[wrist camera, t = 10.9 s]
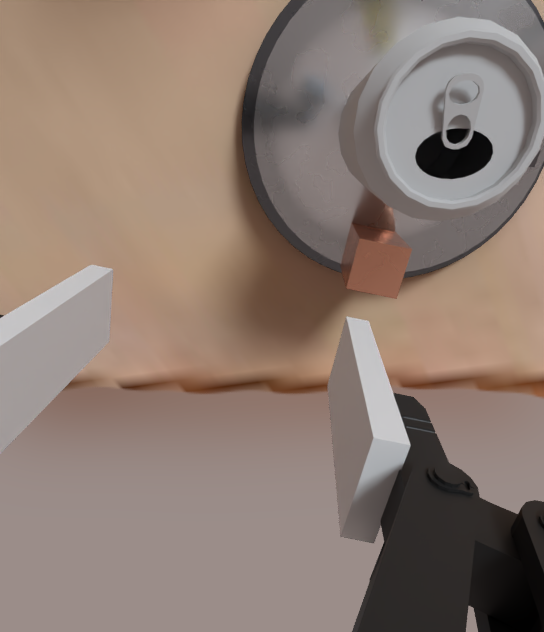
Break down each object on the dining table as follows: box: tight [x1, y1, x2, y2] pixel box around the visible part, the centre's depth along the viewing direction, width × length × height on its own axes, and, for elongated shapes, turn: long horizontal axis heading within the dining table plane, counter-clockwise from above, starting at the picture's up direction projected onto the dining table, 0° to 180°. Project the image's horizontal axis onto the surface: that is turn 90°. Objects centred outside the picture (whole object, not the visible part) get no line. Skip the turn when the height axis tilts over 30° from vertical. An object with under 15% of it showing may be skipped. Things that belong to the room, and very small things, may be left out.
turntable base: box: [242, 0, 544, 278], centre depth 30 cm, size 20×20×1 cm
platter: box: [254, 0, 544, 299], centre depth 26 cm, size 18×18×6 cm
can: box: [338, 17, 544, 221], centre depth 22 cm, size 8×8×12 cm
